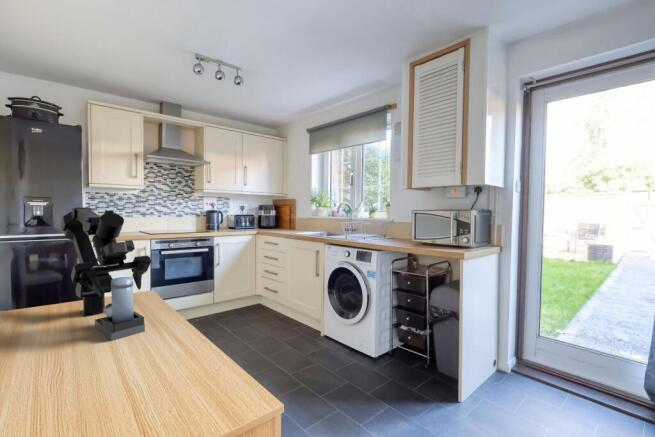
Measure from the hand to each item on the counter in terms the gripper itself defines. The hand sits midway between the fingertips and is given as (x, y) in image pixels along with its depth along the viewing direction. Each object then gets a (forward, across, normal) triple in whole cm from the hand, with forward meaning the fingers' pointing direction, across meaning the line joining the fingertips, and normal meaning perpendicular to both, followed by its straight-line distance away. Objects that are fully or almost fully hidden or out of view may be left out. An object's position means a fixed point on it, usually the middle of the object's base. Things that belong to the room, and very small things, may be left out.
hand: (121, 292), depth 86 cm
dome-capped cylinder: (+7, 0, +6) cm, 9 cm away
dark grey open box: (+6, 0, +10) cm, 12 cm away
